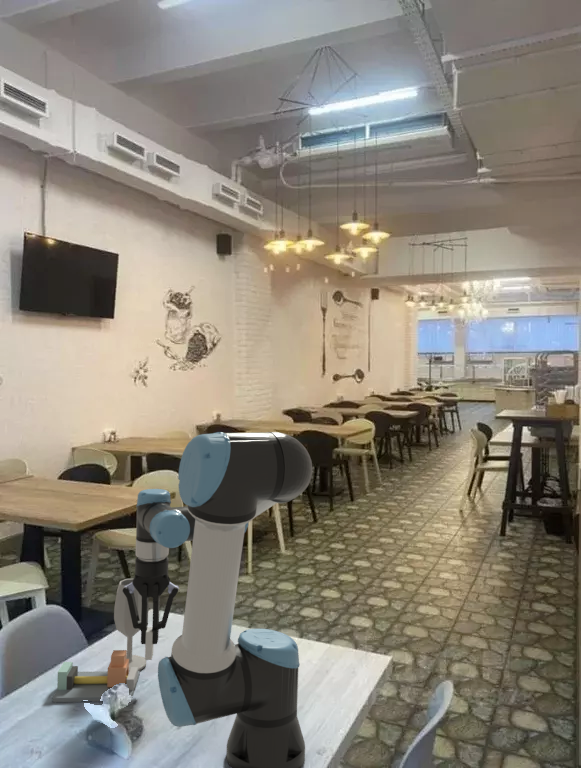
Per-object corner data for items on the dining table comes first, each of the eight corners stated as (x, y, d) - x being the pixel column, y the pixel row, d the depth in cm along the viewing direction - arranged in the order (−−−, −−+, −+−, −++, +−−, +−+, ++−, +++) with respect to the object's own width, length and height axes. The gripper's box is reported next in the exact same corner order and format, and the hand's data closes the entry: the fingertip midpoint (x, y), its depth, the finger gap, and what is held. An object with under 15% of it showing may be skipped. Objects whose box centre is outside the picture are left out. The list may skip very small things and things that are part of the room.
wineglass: (151, 659, 159) (154, 577, 158) (140, 675, 150) (142, 589, 150) (118, 656, 160) (120, 575, 159) (105, 673, 151) (107, 586, 151)
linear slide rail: (131, 701, 138) (131, 678, 138) (52, 702, 137) (53, 679, 137) (139, 675, 150) (140, 654, 150) (67, 676, 149) (67, 655, 149)
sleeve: (125, 687, 142) (125, 657, 142) (107, 687, 142) (108, 657, 141) (128, 677, 146) (129, 648, 146) (111, 677, 146) (112, 648, 146)
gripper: (181, 552, 148) (178, 649, 149) (126, 551, 147) (123, 649, 148) (179, 561, 141) (175, 664, 142) (120, 561, 140) (117, 665, 140)
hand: (149, 657), depth 145 cm, fingers closed
